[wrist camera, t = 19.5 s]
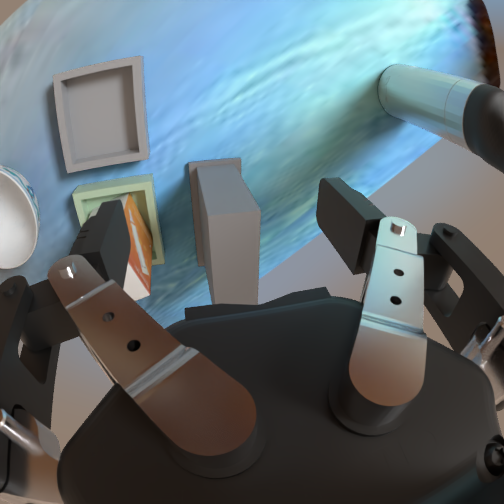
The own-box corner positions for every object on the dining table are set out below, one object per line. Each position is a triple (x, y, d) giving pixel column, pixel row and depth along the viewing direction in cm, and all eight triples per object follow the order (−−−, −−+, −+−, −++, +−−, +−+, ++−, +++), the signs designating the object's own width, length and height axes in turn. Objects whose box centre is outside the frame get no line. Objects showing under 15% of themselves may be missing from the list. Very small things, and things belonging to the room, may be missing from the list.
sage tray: (152, 173, 38) (151, 181, 36) (164, 252, 46) (164, 263, 44) (78, 185, 36) (72, 194, 34) (98, 260, 44) (95, 272, 42)
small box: (154, 235, 43) (152, 296, 33) (118, 251, 43) (106, 313, 33) (129, 189, 38) (115, 241, 28) (91, 207, 38) (67, 263, 28)
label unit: (239, 157, 40) (271, 204, 29) (240, 257, 50) (264, 325, 38) (188, 162, 39) (196, 212, 27) (197, 263, 49) (210, 334, 37)
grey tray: (143, 56, 29) (140, 55, 27) (150, 152, 37) (148, 159, 34) (61, 74, 27) (52, 75, 25) (73, 165, 35) (67, 173, 32)
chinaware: (71, 183, 36) (54, 208, 30) (34, 254, 40) (19, 285, 34) (-3, 130, 28) (-31, 146, 22) (-31, 209, 32) (-54, 234, 26)
